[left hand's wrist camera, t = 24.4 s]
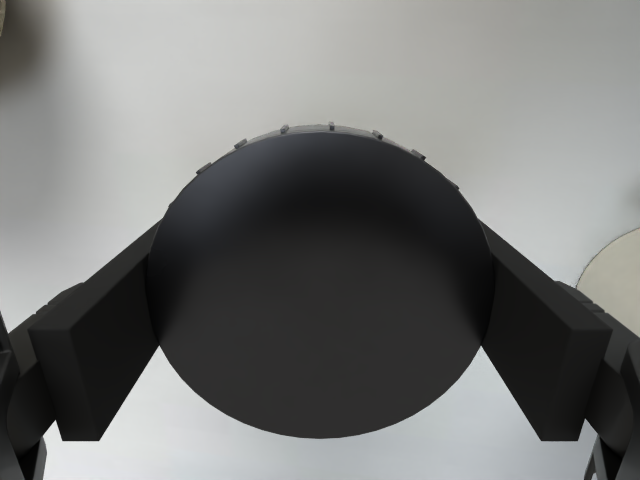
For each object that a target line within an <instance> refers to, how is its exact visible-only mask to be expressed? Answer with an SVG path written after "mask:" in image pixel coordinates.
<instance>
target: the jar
mask: <svg viewBox="0 0 640 480" xmlns="http://www.w3.org/2000/svg"><path fill="white" fill-rule="evenodd" d="M576 289H577V290H579V291H580V292H582V293H583V294H584V295H586V296H587V297H588V298H589V299H591V300H592V301H593V303H596V304H597V305H598V306H600V307H601V308H602V309H604V310H605V313H609V314H610V315H611V316H613V317H614V318H615V319H616V320H618V321H619V322H620V323H622V324H623V325H624V326H625V327H627V328H628V329H629V330H631V331H632V332H633V333H634V334H636V335H637V336H638V337H640V228H639V229H636V230H634V231H632V232H629V233H627V234H625V235H623V236H622V237H620V238H618V239H616V240H615V241H613V242H612V243H611V244H609V245H608V246H607V247H605V248H604V249H603V250H602V251H601V252H600V253H599V254H598V255H597V256H596V257H595V258H594V259H593V260H592V261H591V262H590V264H589V265H588V266H587V268H586V269H585V271H584V273H583V274H582V276H581V278H580V280H579V282H578V285H577V288H576Z"/></svg>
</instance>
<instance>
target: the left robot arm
mask: <svg viewBox="0 0 640 480" xmlns="http://www.w3.org/2000/svg"><path fill="white" fill-rule="evenodd" d="M162 219H163V218H162ZM162 219H161V220H162ZM161 220H160V221H159V222H157V223H156V224H155V225H154V226H152V227H151V228H150V229H149V230H148V231H146V232H145V233H144V234H143V235H142V236H140V237H139V238H138V239H137V240H135V241H134V242H133V243H132V244H131V245H129V246H128V247H127V248H126V249H124V250H123V251H122V252H121V253H120V254H118V255H117V256H116V257H115V258H114V259H112V260H111V261H110V262H109V263H107V264H106V265H105V266H104V267H103V268H101V269H100V270H99V271H98V272H96V273H95V274H94V275H93V276H92V277H90V278H89V279H88V280H87V281H85V282H84V283H79V284H77V285H75V286H73V287H71V288H69V289H67V290H64V291H62V292H61V293H59V294H58V295H57V296H56V297H54V298H53V299H52V300H51V301H49V302H48V305H44V306H43V307H42V308H40V309H39V310H38V311H37V312H36V314H33V315H31V316H30V317H29V318H28V319H26V320H25V321H24V322H23V323H21V324H20V325H19V326H17V327H16V328H15V329H14V330H12V331H11V332H10V333H9V334H8V332H7V330H6V327H5V324H4V321H3V318H2V315H1V312H0V480H43V475H44V469H45V462H46V456H47V450H46V444H45V441H44V438H43V435H44V433H45V432H46V431H47V430H48V428H49V427H50V426H51V425H52V423H53V422H54V421H55V420H56V422H57V425H58V428H59V431H60V435H61V438H62V441H99V440H100V439H101V437H102V436H103V434H104V432H105V431H106V429H107V428H108V426H109V424H110V423H111V421H112V420H113V418H114V417H115V415H116V413H117V412H118V410H119V409H120V407H121V405H122V404H123V402H124V401H125V399H126V397H127V396H128V394H129V393H130V391H131V389H132V388H133V386H134V385H135V383H136V381H137V380H138V378H139V377H140V375H141V373H142V372H143V370H144V369H145V367H146V366H147V364H148V362H149V361H150V359H151V358H152V356H153V354H154V353H155V351H156V350H157V348H158V346H159V343H158V340H157V338H156V335H155V333H154V331H153V328H152V324H151V320H150V314H149V309H148V303H147V297H146V289H145V287H146V267H147V262H148V257H149V252H150V247H151V245H152V242H153V239H154V236H155V234H156V231H157V228H158V226H159V224H160V222H161ZM478 220H479V219H478ZM479 222H480V223H481V225H482V227H483V230H484V233H485V235H486V238H487V241H488V244H489V247H490V250H491V255H492V261H493V266H494V279H495V294H494V300H493V306H492V312H491V317H490V322H489V326H488V329H487V332H486V334H485V337H484V339H483V341H482V344H481V346H482V348H483V349H484V351H485V352H486V354H487V356H488V357H489V359H490V360H491V362H492V364H493V365H494V367H495V368H496V370H497V371H498V373H499V375H500V376H501V378H502V379H503V381H504V383H505V384H506V386H507V387H508V389H509V391H510V392H511V394H512V395H513V397H514V399H515V400H516V402H517V403H518V405H519V407H520V408H521V410H522V411H523V413H524V415H525V416H526V418H527V419H528V421H529V422H530V424H531V426H532V427H533V429H534V430H535V432H536V434H537V435H538V437H539V438H540V440H541V441H578V439H579V436H580V432H581V429H582V426H583V423H584V420H585V418H586V420H587V421H588V422H589V423H590V425H591V426H592V427H593V428H594V430H595V431H596V432H597V433H598V436H597V438H596V441H595V444H594V447H593V450H592V453H591V456H590V459H589V462H588V465H587V468H586V471H585V476H584V480H591V479H592V476H593V474H594V473H596V474H597V480H640V337H638V336H637V335H636V334H634V333H633V332H632V331H631V330H629V329H628V328H627V327H625V326H624V325H623V324H622V323H620V322H619V321H618V320H616V319H615V318H614V317H613V316H611V315H610V314H609V313H605V310H604V309H602V308H601V307H600V306H598V305H597V304H596V303H593V301H592V300H591V299H589V298H588V297H587V296H586V295H584V294H583V293H582V292H580V291H579V290H577V289H575V288H573V287H571V286H569V285H566V284H564V283H562V282H560V281H554V280H552V279H551V278H550V277H549V276H547V275H546V274H545V273H544V272H543V271H541V270H540V269H539V268H538V267H537V266H535V265H534V264H533V263H532V262H530V261H529V260H528V259H527V258H526V257H524V256H523V255H522V254H521V253H519V252H518V251H517V250H516V249H515V248H513V247H512V246H511V245H510V244H508V243H507V242H506V241H505V240H504V239H502V238H501V237H500V236H499V235H498V234H496V233H495V232H494V231H493V230H491V229H490V228H489V227H488V226H487V225H485V224H484V223H483V222H482V221H480V220H479Z"/></svg>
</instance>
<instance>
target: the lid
mask: <svg viewBox="0 0 640 480" xmlns="http://www.w3.org/2000/svg"><path fill="white" fill-rule="evenodd" d="M234 147H235V148H234V149H233V150H231V151H230V152H228V153H227V154H225V155H224V156H222V157H221V158H220V159H218V160H217V161H215V162H214V163H213V164H211V163H208V164H207V165H205V166H204V167H202V168H201V169H199V170H198V171H197V172H196V173H197V174H198V175H197V176H196V177H195V178H194V179H193V180H192V181H191V182H190V183H189V184H188V185H186V186H185V187H184V188H183V190H182V191H181V192H180V193H179V195H178V196H177V197H176V199H175V200H174V201H173V202H172V203H170V205H169V206H168V207H169V208H168V210H167V211H166V213H165V215H164V217H163V219H162V220H161V222H160V224H159V226H158V228H157V231H156V234H155V236H154V239H153V242H152V245H151V247H150V252H149V257H148V262H147V267H146V287H145V289H146V297H147V303H148V309H149V314H150V320H151V324H152V328H153V331H154V333H155V335H156V338H157V340H158V343H159V345H160V347H161V349H162V351H163V352H164V354H165V356H166V358H167V359H168V361H169V363H170V364H171V365H172V367H173V368H174V369H175V371H176V372H177V373H178V375H179V376H180V377H181V378H182V379H183V381H184V382H185V383H186V384H187V385H188V386H189V387H190V388H191V389H192V390H193V391H194V392H195V393H197V394H198V395H199V396H200V397H202V398H203V399H204V400H205V401H207V402H208V403H209V404H210V405H212V406H213V407H215V408H217V409H218V410H220V411H221V412H223V413H225V414H226V415H228V416H230V417H232V418H234V419H236V420H238V421H240V422H242V423H244V424H247V425H250V426H253V427H255V428H258V429H261V430H264V431H268V432H272V433H276V434H280V435H285V436H292V437H299V438H314V439H325V438H342V437H349V436H355V435H361V434H365V433H369V432H373V431H377V430H380V429H382V428H385V427H388V426H391V425H394V424H396V423H398V422H400V421H402V420H404V419H406V418H409V417H411V416H413V415H414V414H416V413H418V412H419V411H421V410H422V409H424V408H426V407H427V406H429V405H430V404H431V403H433V402H434V401H435V400H436V399H438V398H439V397H440V396H442V395H443V394H444V393H445V392H446V391H447V390H448V389H449V388H450V387H451V386H452V385H453V384H454V383H455V382H456V381H457V380H458V379H459V378H460V376H461V375H462V374H463V373H464V371H465V370H466V369H467V367H468V366H469V365H470V363H471V362H472V360H473V358H474V357H475V355H476V353H477V352H478V350H479V348H480V346H481V344H482V341H483V339H484V337H485V334H486V332H487V329H488V326H489V322H490V317H491V312H492V306H493V300H494V294H495V279H494V266H493V261H492V255H491V250H490V247H489V244H488V241H487V238H486V235H485V233H484V230H483V227H482V225H481V223H480V222H479V220H478V218H477V216H476V214H475V213H474V211H473V209H472V207H471V206H470V205H469V203H468V202H467V201H466V200H465V198H464V197H463V196H462V194H461V193H460V192H459V190H458V189H459V187H458V186H457V185H455V184H454V183H453V182H451V181H450V180H448V179H447V178H446V177H444V176H443V175H442V174H441V173H440V172H439V171H437V170H436V169H435V168H433V167H432V166H431V165H429V164H428V163H426V162H425V161H424V160H425V159H426V157H425V156H423V155H422V154H420V153H418V152H417V151H415V150H414V149H413V150H412V151H409V150H408V149H406V148H404V147H402V146H400V145H399V144H397V143H395V142H393V141H391V140H389V139H387V138H384V137H383V135H381V134H380V133H379V132H377V131H375V130H373V133H370V132H368V131H364V130H359V129H354V128H349V127H345V126H334V123H333V122H329V125H308V126H296V127H291V128H289V127H288V125H284V126H283V127H282V128H281V129H280V130H276V131H273V132H270V133H267V134H264V135H262V136H259V137H256V138H253V139H251V140H249V141H248V142H247V140H246V139H244V140H242V141H240V142H239V143H237V144H236V145H234Z"/></svg>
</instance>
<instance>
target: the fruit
mask: <svg viewBox="0 0 640 480" xmlns="http://www.w3.org/2000/svg"><path fill="white" fill-rule="evenodd" d="M5 6H6V0H0V36H1V34H2V29H3V24H4V17H5Z"/></svg>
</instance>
